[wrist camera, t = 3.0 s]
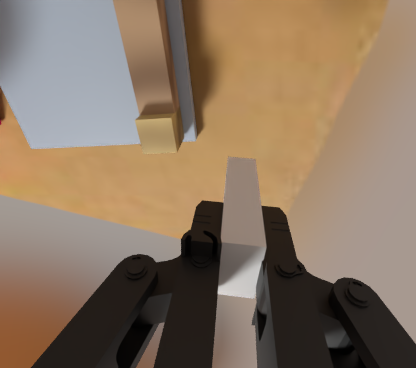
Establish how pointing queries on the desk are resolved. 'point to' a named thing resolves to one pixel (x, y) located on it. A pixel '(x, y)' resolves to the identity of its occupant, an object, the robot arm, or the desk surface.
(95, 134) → the board
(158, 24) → the link
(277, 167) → the desk surface
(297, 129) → the desk surface
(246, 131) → the desk surface
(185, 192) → the desk surface
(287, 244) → the robot arm
